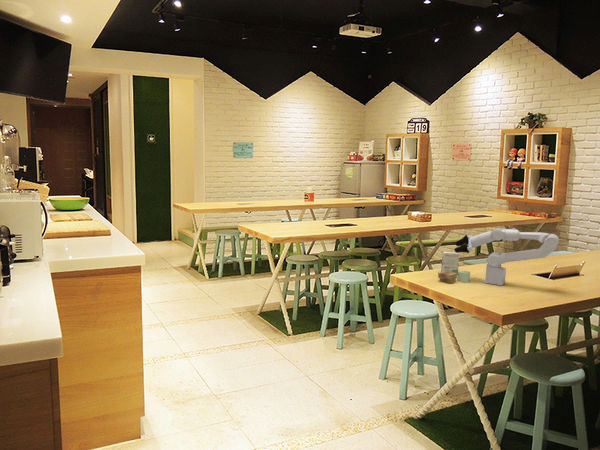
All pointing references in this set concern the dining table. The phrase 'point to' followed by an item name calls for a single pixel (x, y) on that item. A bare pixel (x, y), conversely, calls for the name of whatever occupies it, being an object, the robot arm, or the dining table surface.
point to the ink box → (450, 262)
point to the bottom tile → (447, 280)
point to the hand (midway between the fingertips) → (455, 247)
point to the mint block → (463, 276)
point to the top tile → (447, 275)
